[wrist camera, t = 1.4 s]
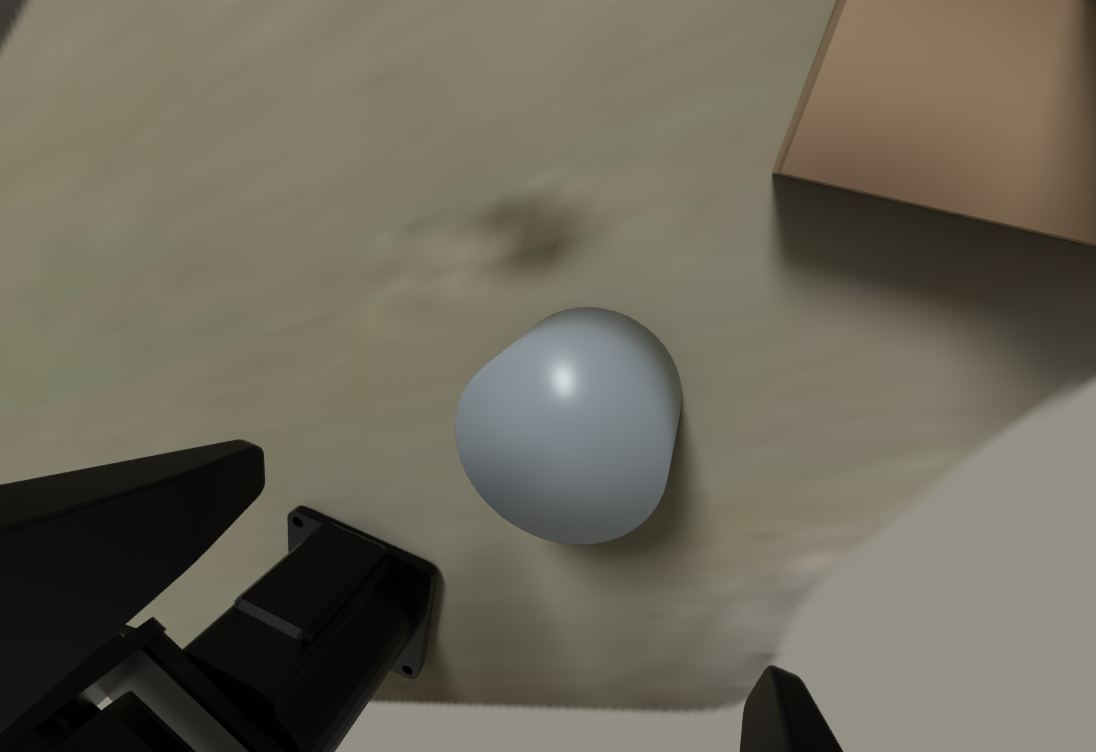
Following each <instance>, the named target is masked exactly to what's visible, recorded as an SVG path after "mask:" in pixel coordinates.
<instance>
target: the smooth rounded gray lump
mask: <svg viewBox="0 0 1096 752" xmlns="http://www.w3.org/2000/svg"><path fill="white" fill-rule="evenodd" d="M681 405H682V389H681V382H680V377H679V374H678V371H677V368H676V366H675V363H674V361H673V359H672V357H671V355H670V354H669V352H668V351H667V349H666V348H665V346H664V345H663V344H662V343H661V342H660V340H659V339H658V338H657V337H656V336H655V335H654V334H653V333H652V332H651V331H649V330H648V329H647V328H646V327H644V326H643V325H641V324H640V323H639V322H637V321H635V320H633V319H631V318H630V317H628V316H626V315H623V314H620V313H618V312H615V311H611V310H607V309H602V308H593V307H584V308H574V309H568V310H564V311H561V312H558V313H555V314H553V315H551V316H549V317H547V318H545V319H544V320H542V321H541V322H539V323H538V324H537V325H535V326H534V327H533V328H532V329H530V330H529V331H528V332H526V333H525V334H524V335H523V336H521V337H520V338H519V339H518V340H516V341H515V342H514V343H513V344H511V345H510V346H509V347H508V348H506V349H505V350H504V351H503V352H501V353H500V354H499V355H498V356H496V357H495V358H494V359H492V360H491V361H490V362H489V363H487V364H486V365H485V366H484V367H483V368H482V369H481V370H479V371H478V372H477V373H476V374H475V376H474V377H473V378H472V379H471V381H470V382H469V383H468V385H467V387H466V388H465V390H464V392H463V394H462V397H461V399H460V402H459V405H458V409H457V414H456V423H455V434H456V443H457V448H458V453H459V456H460V459H461V462H462V465H463V467H464V469H465V472H466V474H467V476H468V477H469V479H470V481H471V483H472V484H473V486H474V487H475V489H476V490H477V491H478V493H479V494H480V495H481V497H482V498H483V499H484V500H485V501H486V502H487V503H488V504H489V505H490V506H491V507H492V508H493V509H494V510H495V511H496V512H497V513H498V514H499V515H501V516H502V517H503V518H505V519H506V520H507V521H509V522H510V523H512V524H513V525H515V526H517V527H518V528H520V529H522V530H524V531H526V532H528V533H530V534H532V535H535V536H537V537H540V538H543V539H546V540H550V541H554V542H558V543H565V544H574V545H587V544H598V543H602V542H607V541H611V540H613V539H616V538H619V537H621V536H623V535H625V534H627V533H629V532H631V531H633V530H634V529H635V528H637V527H638V526H639V525H641V524H642V523H643V522H644V521H645V520H646V519H647V518H648V517H649V516H650V515H651V514H652V512H653V511H654V509H655V508H656V507H657V505H658V503H659V501H660V499H661V497H662V495H663V493H664V490H665V487H666V483H667V479H668V474H669V469H670V464H671V459H672V453H673V448H674V443H675V438H676V433H677V428H678V422H679V417H680V412H681Z"/></svg>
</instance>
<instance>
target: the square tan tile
mask: <svg viewBox="0 0 1096 752" xmlns="http://www.w3.org/2000/svg"><path fill="white" fill-rule="evenodd" d="M772 173H774V174H778V175H783V176H787V177H791V178H796V179H800V180H805V181H809V182H814V183H818V184H822V185H827V186H831V187H836V188H840V189H844V190H849V191H853V192H858V193H862V194H866V195H871V196H875V197H880V198H884V199H888V200H893V201H897V202H902V203H906V204H910V205H915V206H919V207H924V208H928V209H932V210H937V211H941V212H946V213H950V214H954V215H959V216H963V217H968V218H972V219H976V220H981V221H985V222H990V223H994V224H999V225H1003V226H1007V227H1012V228H1016V229H1021V230H1025V231H1029V232H1034V233H1038V234H1043V235H1047V236H1051V237H1056V238H1060V239H1065V240H1069V241H1073V242H1078V243H1082V244H1087V245H1091V246H1095V247H1096V0H837V2H836V4H835V7H834V10H833V12H832V15H831V18H830V20H829V23H828V25H827V28H826V31H825V33H824V36H823V39H822V41H821V44H820V47H819V49H818V52H817V55H816V57H815V60H814V63H813V65H812V68H811V70H810V73H809V76H808V78H807V81H806V84H805V86H804V89H803V92H802V94H801V97H800V100H799V102H798V105H797V108H796V110H795V113H794V116H793V118H792V121H791V123H790V126H789V129H788V131H787V134H786V137H785V139H784V142H783V145H782V147H781V150H780V153H779V155H778V158H777V161H776V163H775V166H774V169H773V171H772Z"/></svg>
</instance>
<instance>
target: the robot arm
mask: <svg viewBox="0 0 1096 752" xmlns="http://www.w3.org/2000/svg"><path fill="white" fill-rule="evenodd" d="M264 485H265V466H264V452H263V450H262V448H261V447H259V446H257V445H255V444H253V443H250V442H248V441H246V440H232V441H227V442H222V443H217V444H211V445H206V446H201V447H196V448H191V449H185V450H180V451H175V452H170V453H164V454H159V455H154V456H149V457H143V458H138V459H133V460H128V461H122V462H117V463H112V464H107V465H102V466H96V467H91V468H86V469H81V470H75V471H70V472H65V473H60V474H54V475H49V476H44V477H39V478H33V479H28V480H23V481H18V482H13V483H7V484H2V485H0V752H335V751H336V749H337V748H338V746H339V745H340V743H341V742H342V740H343V739H344V737H345V736H346V734H347V733H348V732H349V730H350V729H351V727H352V725H353V724H354V723H355V721H356V720H357V718H358V716H359V715H360V714H361V712H362V711H363V709H364V708H365V707H366V705H367V704H368V702H369V701H370V699H371V698H372V696H373V695H374V693H375V692H376V690H377V689H378V687H379V686H380V684H381V683H382V682H383V680H384V679H385V677H386V676H387V674H388V673H389V671H390V670H393V671H395V672H397V673H399V674H401V675H403V676H405V677H407V678H410V679H415V678H417V676H418V675H419V673H420V671H421V670H422V668H423V663H424V657H425V650H426V643H427V637H428V630H429V624H430V617H431V610H432V604H433V597H434V591H435V584H436V577H437V573H436V570H435V568H434V567H433V565H432V564H431V563H429V562H427V561H425V560H423V559H421V558H419V557H417V556H414V555H412V554H410V553H408V552H405V551H403V550H401V549H399V548H396V547H394V546H392V545H390V544H388V543H385V542H383V541H381V540H379V539H376V538H374V537H372V536H370V535H368V534H365V533H363V532H361V531H359V530H356V529H354V528H352V527H350V526H347V525H345V524H343V523H341V522H339V521H336V520H334V519H332V518H330V517H327V516H325V515H323V514H321V513H318V512H316V511H314V510H312V509H310V508H307V507H305V506H298V507H296V508H295V509H294V510H292V511H291V512H290V513H289V514H288V517H287V518H288V551H289V553H288V554H287V555H286V556H285V557H284V558H282V559H281V560H280V561H279V562H278V563H277V564H276V565H274V566H273V567H272V568H271V569H270V570H269V571H267V572H266V573H265V574H264V575H263V576H262V577H260V578H259V579H258V580H257V581H256V582H255V583H254V584H252V585H251V586H250V587H249V588H248V589H247V590H245V591H244V592H243V593H242V594H241V595H240V596H238V598H237V599H236V600H235V604H234V605H233V606H231V607H230V608H229V609H228V610H227V611H226V612H225V613H223V614H222V615H221V616H220V617H219V618H218V619H217V620H215V621H214V622H213V623H212V624H211V625H210V626H209V627H207V628H206V629H205V630H204V631H203V632H202V633H200V634H199V635H198V636H197V637H196V638H195V639H194V640H192V641H191V642H190V643H189V644H188V645H187V646H186V647H184V648H183V649H181V648H180V647H179V646H178V645H177V644H176V643H175V642H174V641H173V640H172V639H171V638H169V637H168V636H167V635H166V634H165V633H164V632H165V631H166V628H165V627H164V626H163V625H162V624H161V623H160V622H159V621H158V620H156V619H155V618H154V617H152V618H150V619H149V620H147V621H146V622H144V623H143V624H142V625H140V626H139V627H137V628H134V627H131V626H128V625H125V624H126V623H127V622H129V621H130V620H131V619H132V618H133V617H134V616H135V615H137V614H138V613H139V612H140V611H141V610H142V609H143V608H144V607H146V606H147V605H148V604H149V603H150V602H151V601H152V600H154V599H155V598H156V597H157V596H158V595H159V594H160V593H161V592H163V591H164V590H165V589H166V588H167V587H168V586H169V585H171V584H172V583H173V582H174V581H175V580H176V579H177V578H178V577H180V576H181V575H182V574H183V573H184V572H185V571H186V570H187V569H188V568H189V567H191V566H192V565H193V564H194V563H195V562H196V561H197V560H198V559H199V558H200V557H201V556H202V555H203V554H204V553H205V552H206V551H207V550H208V549H209V548H210V547H211V546H212V545H213V544H214V542H215V541H216V540H217V539H218V538H219V537H220V536H221V535H222V534H223V533H224V532H225V531H226V530H227V529H228V528H229V527H230V526H231V525H232V524H233V523H234V522H235V520H236V519H237V518H238V517H239V516H240V515H241V514H242V513H243V512H244V511H245V510H246V509H247V508H248V507H249V506H250V505H251V504H252V503H253V502H254V501H255V500H256V499H257V497H258V496H259V495H260V494H261V492H262V491H263V488H264ZM107 696H108V697H109V698H110V699H111V700H112V701H113V702H112V703H111V704H109V705H108V706H107V707H105V708H104V709H103V710H100V709H99V708H98V707H97V705H98V704H99V703H101V702H102V701H103V700H104V699H105V698H106V697H107ZM740 752H843V750H842V749H841V747H840V745H839V743H838V742H837V740H836V738H835V736H834V735H833V733H832V731H831V730H830V728H829V726H828V724H827V722H826V721H825V719H824V717H823V715H822V714H821V712H820V710H819V708H818V707H817V705H816V704H815V701H814V700H813V698H812V696H811V694H810V693H809V691H808V689H807V688H806V686H805V684H804V682H803V681H802V680H801V679H800V678H799V677H798V676H797V675H795V674H793V673H790V672H788V671H786V670H783V669H781V668H779V667H776V666H773V665H771V666H768V667H767V668H766V669H765V670H764V672H763V673H762V675H761V677H760V678H759V680H758V681H757V683H756V685H755V686H754V688H753V689H752V691H751V693H750V694H749V696H748V698H747V700H746V703H745V706H744V712H743V721H742V732H741V743H740Z"/></svg>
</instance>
